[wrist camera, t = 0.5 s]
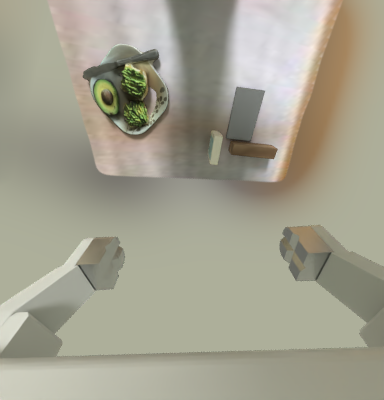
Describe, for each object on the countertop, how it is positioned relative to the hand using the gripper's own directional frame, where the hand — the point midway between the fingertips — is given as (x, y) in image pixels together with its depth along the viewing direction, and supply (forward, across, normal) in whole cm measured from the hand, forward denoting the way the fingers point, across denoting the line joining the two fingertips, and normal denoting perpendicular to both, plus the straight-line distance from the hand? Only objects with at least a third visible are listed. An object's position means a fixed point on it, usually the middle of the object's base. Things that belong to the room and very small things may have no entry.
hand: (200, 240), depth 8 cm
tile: (+44, -5, +6) cm, 44 cm away
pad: (+44, -14, -1) cm, 46 cm away
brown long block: (+44, -16, +8) cm, 47 cm away
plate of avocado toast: (+44, +16, -8) cm, 47 cm away
